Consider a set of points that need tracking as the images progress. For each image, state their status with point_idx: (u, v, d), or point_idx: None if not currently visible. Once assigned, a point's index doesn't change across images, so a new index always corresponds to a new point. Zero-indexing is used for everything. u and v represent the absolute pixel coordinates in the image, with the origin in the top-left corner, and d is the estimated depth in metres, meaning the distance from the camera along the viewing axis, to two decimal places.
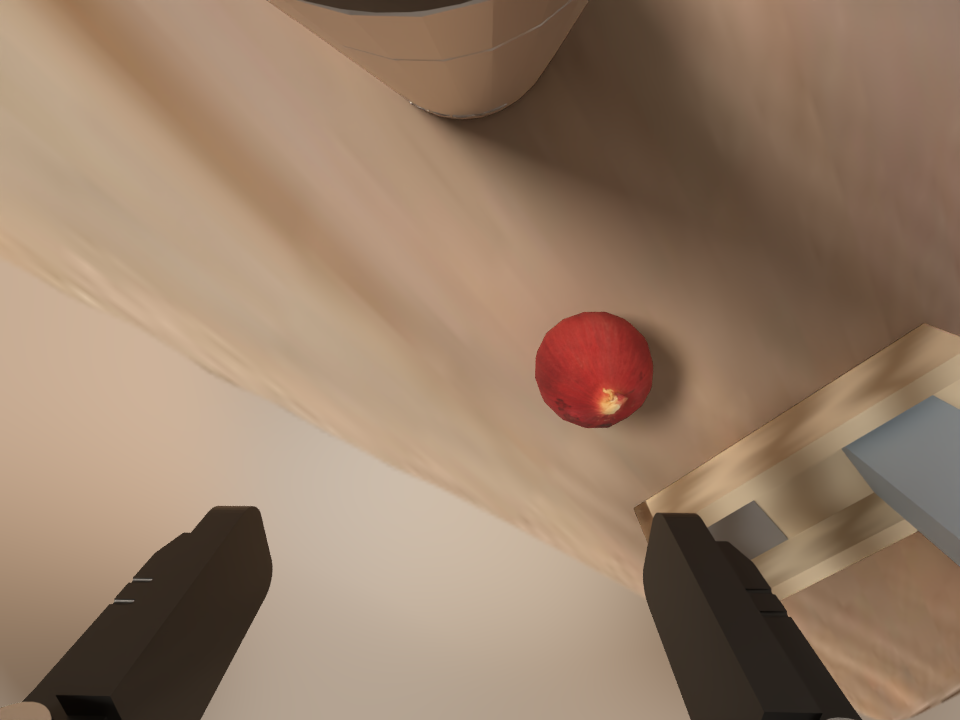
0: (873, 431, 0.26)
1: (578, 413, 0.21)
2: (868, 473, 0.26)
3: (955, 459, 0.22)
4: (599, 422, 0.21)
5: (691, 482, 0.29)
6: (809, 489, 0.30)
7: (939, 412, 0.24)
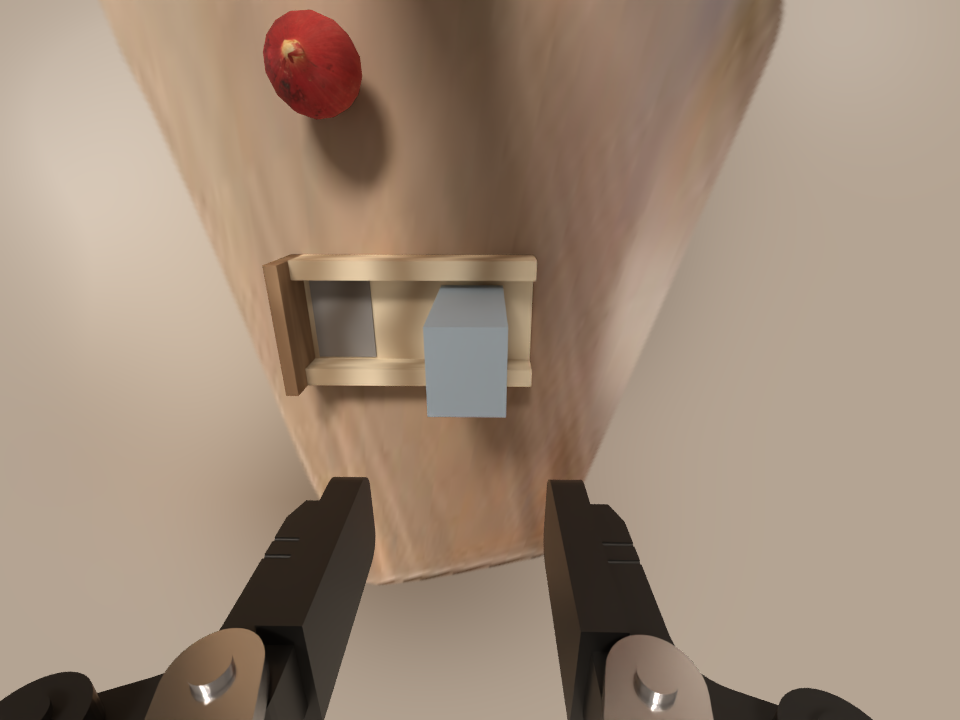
0: (460, 288, 0.35)
1: (271, 54, 0.26)
2: None
3: (473, 300, 0.32)
4: (281, 71, 0.26)
5: (339, 256, 0.36)
6: (410, 325, 0.38)
7: (495, 292, 0.34)
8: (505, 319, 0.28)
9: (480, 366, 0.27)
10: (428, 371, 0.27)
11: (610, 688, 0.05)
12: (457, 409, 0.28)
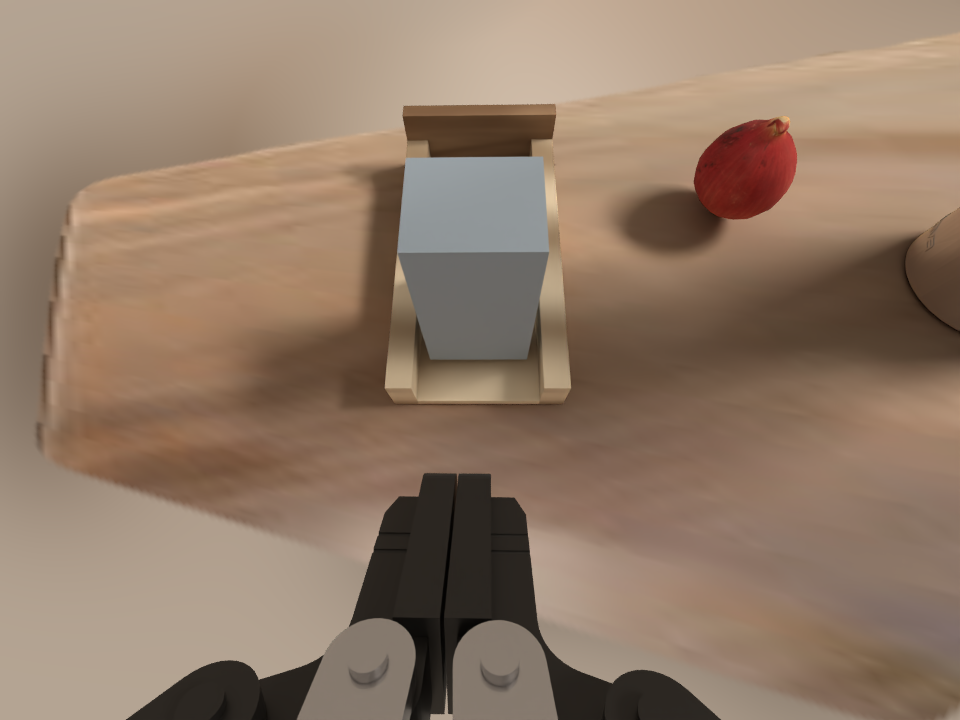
0: None
1: None
2: None
3: None
4: (752, 123, 0.28)
5: None
6: None
7: None
8: None
9: (485, 218, 0.18)
10: (477, 160, 0.19)
11: (453, 670, 0.06)
12: (415, 191, 0.19)
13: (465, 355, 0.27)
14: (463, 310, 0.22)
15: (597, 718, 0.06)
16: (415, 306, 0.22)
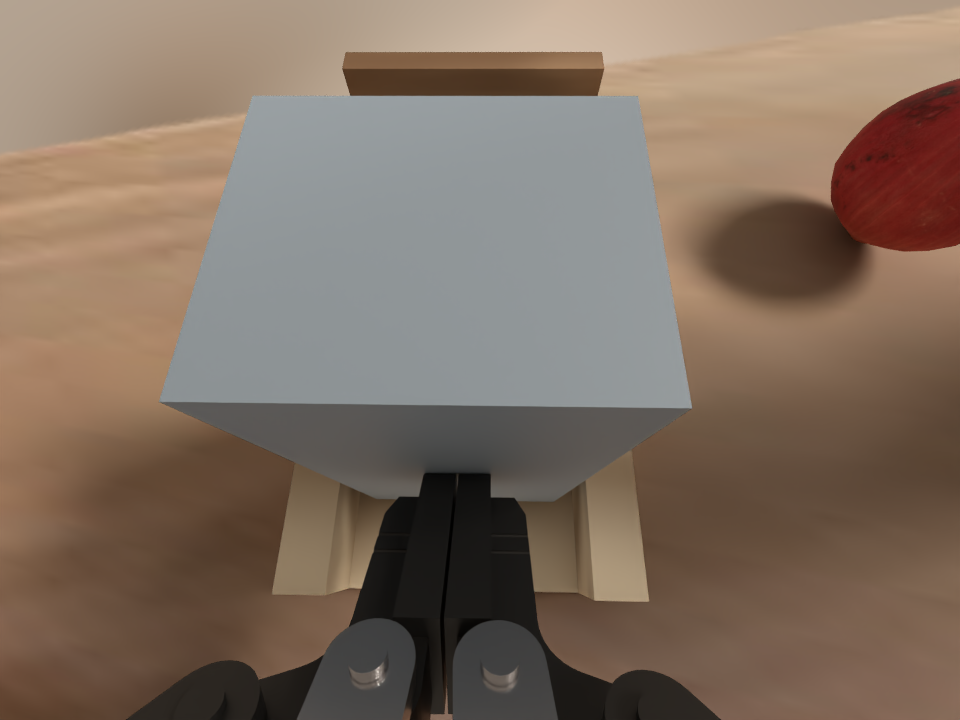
0: None
1: None
2: None
3: None
4: None
5: None
6: None
7: None
8: None
9: (470, 281, 0.06)
10: (453, 104, 0.07)
11: (453, 670, 0.06)
12: (264, 191, 0.06)
13: None
14: (422, 470, 0.09)
15: (597, 718, 0.06)
16: (306, 465, 0.09)
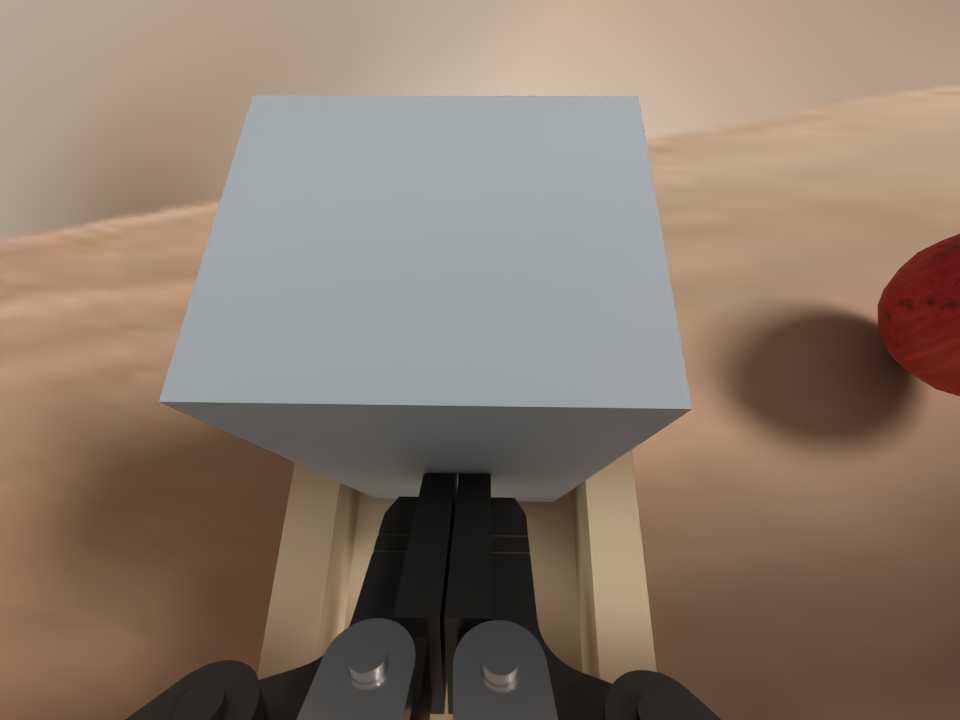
0: None
1: None
2: None
3: None
4: None
5: None
6: None
7: None
8: None
9: (470, 281, 0.06)
10: (454, 104, 0.07)
11: (453, 670, 0.06)
12: (263, 191, 0.06)
13: None
14: (421, 471, 0.09)
15: (597, 718, 0.06)
16: (306, 465, 0.09)
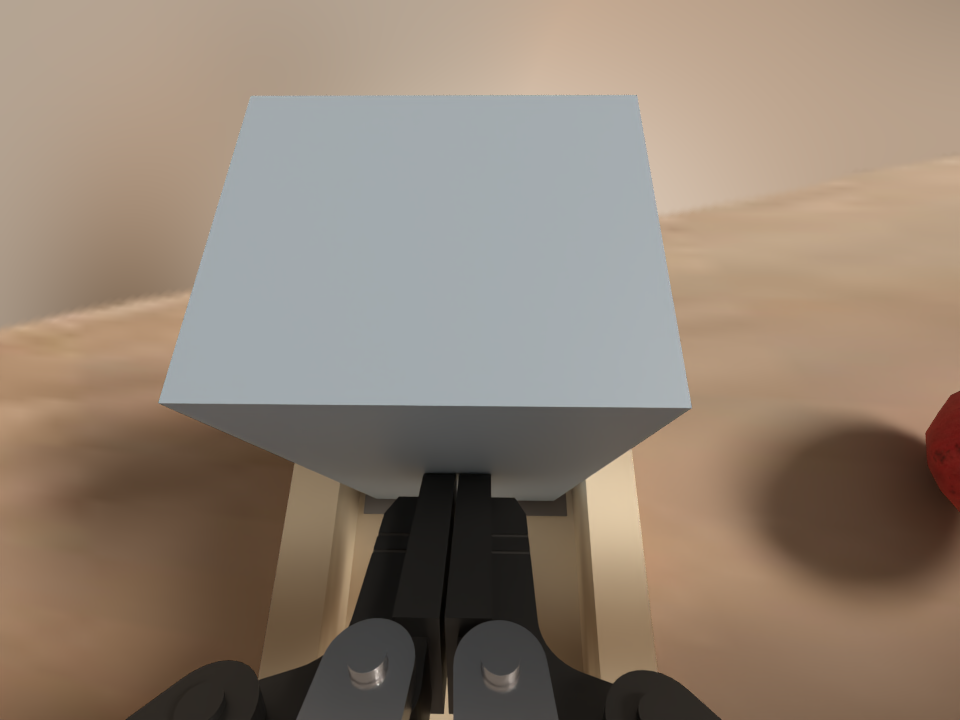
0: None
1: None
2: None
3: None
4: None
5: None
6: None
7: None
8: None
9: (470, 281, 0.06)
10: (452, 104, 0.07)
11: (453, 670, 0.06)
12: (262, 191, 0.06)
13: None
14: (422, 470, 0.09)
15: (597, 718, 0.06)
16: (306, 465, 0.09)
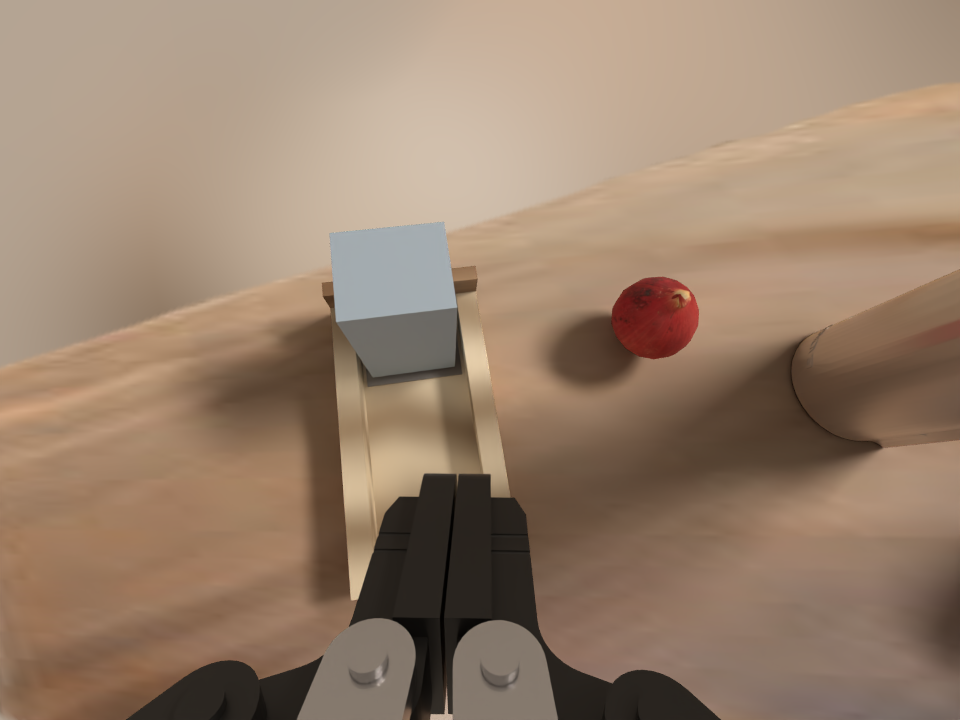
0: None
1: (668, 282, 0.30)
2: None
3: None
4: (658, 288, 0.30)
5: None
6: (411, 423, 0.32)
7: None
8: (456, 317, 0.24)
9: (403, 283, 0.23)
10: (390, 230, 0.24)
11: (453, 670, 0.06)
12: (343, 265, 0.23)
13: (402, 371, 0.32)
14: (395, 346, 0.27)
15: (597, 718, 0.06)
16: (355, 348, 0.26)
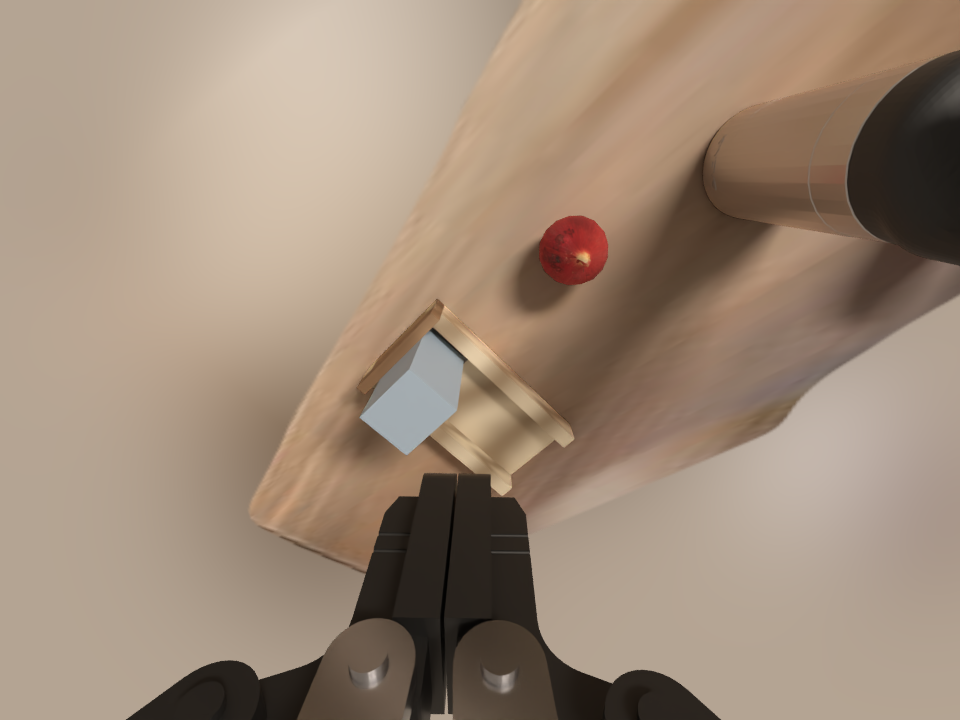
0: (438, 339, 0.43)
1: (568, 242, 0.36)
2: None
3: (443, 362, 0.40)
4: (564, 255, 0.36)
5: (468, 330, 0.45)
6: (464, 400, 0.48)
7: (458, 362, 0.43)
8: (457, 400, 0.37)
9: (420, 417, 0.35)
10: (387, 394, 0.35)
11: (453, 670, 0.06)
12: (382, 428, 0.36)
13: None
14: None
15: (597, 718, 0.06)
16: None
